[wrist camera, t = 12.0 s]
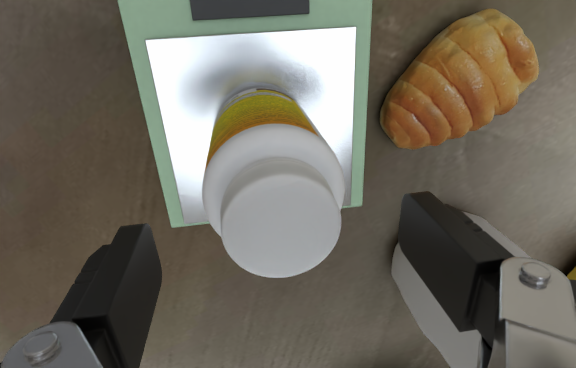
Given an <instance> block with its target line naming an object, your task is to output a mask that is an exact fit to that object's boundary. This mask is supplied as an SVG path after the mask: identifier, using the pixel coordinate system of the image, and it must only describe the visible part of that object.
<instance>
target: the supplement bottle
mask: <svg viewBox="0 0 576 368" xmlns="http://www.w3.org/2000/svg"><path fill="white" fill-rule="evenodd" d="M344 194H345V181H344V174H343V171H342V168H341V165H340V163H339V161H338V159H337V157H336V155H335V153H334V152H333V150H332V149H331V147H330V146H329V145H328V143H327V142H326V140H325V139H324V138H323V136H322V135H321V134H320V132H319V131H318V129H317V128H316V127H315V125H314V124H313V123H312V121H311V120H310V118H309V117H308V116H307V114H306V113H305V112H304V110H303V109H302V108H301V106H300V105H299V104H298V103H297V102H296V101H295V100H294V99H292V98H291V97H290V96H288V95H287V94H285V93H283V92H280V91H278V90H274V89H269V88H254V89H249V90H246V91H243V92H241V93H239V94H237V95H235V96H234V97H232V98H231V99H230V100H229V101H227V102H226V103H225V104H224V106H223V107H222V108H221V110H220V111H219V113H218V115H217V117H216V119H215V122H214V126H213V130H212V136H211V141H210V146H209V151H208V156H207V161H206V167H205V172H204V177H203V184H202V202H203V207H204V210H205V214H206V216H207V218H208V220H209V222H210V224H211V226H212V227H213V228H214V230H215V231H216V232H217V233H218V234H219V235H220V236H221V237H222V241H223V244H224V247H225V249H226V251H227V253H228V254H229V256H230V257H231V258H232V259H233V261H234V262H235V263H237V264H238V265H239V266H240V267H242V268H243V269H245V270H247V271H249V272H251V273H253V274H256V275H259V276H263V277H270V278H284V277H290V276H294V275H298V274H301V273H303V272H306V271H308V270H310V269H312V268H313V267H315V266H316V265H318V264H319V263H320V262H322V261H323V260H324V259H325V258H326V257H327V256H328V255H329V254H330V252H331V251H332V249H333V248H334V246H335V244H336V242H337V240H338V238H339V234H340V230H341V214H340V210H341V208H342V204H343V200H344Z"/></svg>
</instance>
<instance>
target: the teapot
mask: <svg viewBox="0 0 576 368" xmlns="http://www.w3.org/2000/svg"><path fill="white" fill-rule="evenodd" d="M567 278H568V279H571V280H576V267H575V268H574V269H573V270H572V271H571V272H570V273H569V274H568V275H567Z"/></svg>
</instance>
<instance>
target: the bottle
mask: <svg viewBox="0 0 576 368" xmlns="http://www.w3.org/2000/svg"><path fill="white" fill-rule="evenodd" d="M463 213H465V214H466V215H467V216H468V217H469V218H470V219H472V220H473V223H476V224H477V225H479V226H480V227H481V228H482V230H483V231H486V232H487V233H488V234H489V235H490V236H491V237H493V238H494V239H495V240H496V241H497V242H498V243H500V244H501V245H502V246H503V247H504V248H505V249H507V250H508V251H509V252H510V253H511V254H512V255H514V256H515V257H527V258H530V257H529V256H528V255H527V254H526V253H525V251H523V250H522V249H521V248H520V247H518V246H517V245H516V244H514V243H513V242H512V241H511V240H509V239H508V238H507V237H506V236H504V235H503V234H502V233H500V232H499V231H498V230H497V229H495V228H494V227H493V226H492V225H490V224H489V223H488V222H487V221H486V220H485V219H484V218H482V217H480V216H476V215H473V214H470V213H467V212H463ZM391 276H392V277H393V279H394V281H395V282H396V284H397V285H398V287H399V290H400V292H401V294H402V297H403V299H404V301H405V303H406V304H407V306H408V308H409V310H410V311H411V313H412V315H413V317H414V318H415V320H416V322H417V324H418V325H419V327H420V329H421V331H422V332H423V333H424V334H425V335H426V336H427V337H428V339H429V340H430V341H431V342H432V343H433V344H434V345H435V346H436V347H437V348H438V350H439V351H440V353H441V354H442V356H443V357H444V359H445V360H446V362H447V363H448V365H449V366H450V368H477V359H478V346H479V341H480V337H481V334H480V333H479V332H478V330H471V331H465V332H459V331H458V330H457V328H456V327H455V325H454V324H453V323H452V321H451V320H450V318H449V317H448V316H447V314H446V313H445V311H444V310H443V309H442V307H441V306H440V304H439V303H438V302H437V300H436V299H435V297H434V296H433V295H432V293H431V292H430V290H429V289H428V288H427V286H426V285H425V283H424V282H423V281H422V279H421V278H420V276H419V275H418V274H417V272H416V271H415V269H414V268H413V267H412V265H411V264H410V262H409V261H408V260H407V258H406V257H405V255H404V254H403V253H402V251H401V248H400V245H399V242H398V244H397V245H396V247H395V251H394V255H393V260H392V271H391Z"/></svg>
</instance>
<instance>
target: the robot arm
mask: <svg viewBox="0 0 576 368" xmlns="http://www.w3.org/2000/svg"><path fill="white" fill-rule="evenodd" d="M398 240H399V245H400V248H401V251H402V253H403V254H404V255H405V257H406V258H407V260H408V261H409V262H410V264H411V265H412V267H413V268H414V269H415V271H416V272H417V274H418V275H419V276H420V278H421V279H422V281H423V282H424V283H425V285H426V286H427V288H428V289H429V290H430V292H431V293H432V295H433V296H434V297H435V299H436V300H437V302H438V303H439V304H440V306H441V307H442V309H443V310H444V311H445V313H446V314H447V316H448V317H449V318H450V320H451V321H452V323H453V324H454V325H455V327H456V328H457V330H458V331H459V332H465V331H471V330H478V332H479V333H480V334H481V337H480V341H479V346H478V359H477V368H576V280H571V279H568V278H567V277H566V276H565V275H564V274H563V273H562V272H561V271H560V270H558V269H557V268H555V267H553V266H551V265H550V264H547V263H545V262H542V261H540V260H536V259H533V258H527V257H515V256H514V255H512V254H511V253H510V252H509V251H508V250H507V249H505V248H504V247H503V246H502V245H501V244H500V243H498V242H497V241H496V240H495V239H494V238H493V237H491V236H490V235H489V234H488V233H487V232H486V231H483V230H482V228H481V227H480V226H479V225H477V224H476V223H473V220H472V219H470V218H469V217H468V216H467V215H466V214H465V213H463V212H462V211H460V210H458V209H456V208H454V207H452V206H449V205H447V204H443V203H442V202H441V201H440V200H439V199H438V198H436V197H435V196H434V195H433V194H432V193H431V192H429V191H426V192H417V193H409V194H405V195H404V196H403V198H402V203H401V213H400V222H399V231H398ZM161 282H162V270H161V264H160V260H159V256H158V252H157V249H156V245H155V241H154V238H153V234H152V230H151V228H150V226H149V224H147V223H146V224H137V225H129V226H121V227H120V228H119V230H118V232H117V234H116V235H115V237H114V239H113V241H112V243H111V244H109V245H103V246H102V247H100V248H99V249H98V250H97V251H96V252H95V253H93V254H92V255H91V256H90V257H89V258H88V260H87V261H86V263H85V265H84V266H83V268H82V270H81V273H79V275H78V276H77V278H76V280H75V284H73V285H72V287H71V288H70V290H69V292H68V293H67V295H66V297H65V298H64V300H63V302H62V303H61V305H60V307H59V308H58V310H57V312H56V314H55V315H54V317H53V319H52V320H51V322H50V324H47V325H44V326H42V327H40V328H37V329H35V330H34V331H32V332H30V333H28V334H27V335H25V336H24V337H23V338H21V339H20V340H19V341H18V342H16V343H15V344H14V345H13V346H12V347H11V349H10V350H9V351H8V352H7V354H6V355H5V357H4V359H3V361H2V363H0V368H139V366H140V362H141V359H142V355H143V351H144V347H145V343H146V340H147V336H148V332H149V328H150V325H151V321H152V317H153V313H154V310H155V306H156V302H157V298H158V295H159V291H160V287H161Z"/></svg>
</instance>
